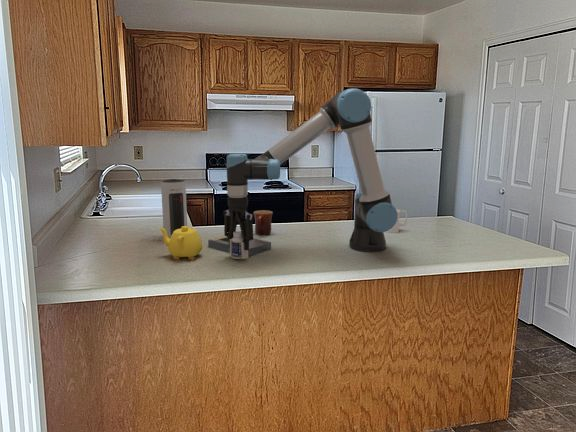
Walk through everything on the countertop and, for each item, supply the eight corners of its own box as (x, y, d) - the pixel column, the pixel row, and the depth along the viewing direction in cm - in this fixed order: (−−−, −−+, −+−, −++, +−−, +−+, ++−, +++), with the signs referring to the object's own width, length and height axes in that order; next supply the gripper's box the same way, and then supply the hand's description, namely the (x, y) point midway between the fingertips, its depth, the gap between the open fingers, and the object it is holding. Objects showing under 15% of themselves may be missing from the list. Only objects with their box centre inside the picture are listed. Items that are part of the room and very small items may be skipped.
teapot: (189, 249, 196) (188, 220, 194) (210, 256, 186) (210, 226, 184) (158, 255, 187) (157, 225, 184) (179, 264, 177) (178, 232, 174)
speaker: (162, 242, 207) (160, 181, 201) (163, 236, 217) (161, 178, 211) (188, 241, 209) (186, 180, 203) (187, 235, 219) (186, 177, 213)
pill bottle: (240, 260, 180) (239, 234, 178) (229, 258, 183) (228, 232, 181) (249, 256, 185) (248, 231, 183) (237, 254, 188) (237, 230, 186)
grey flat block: (271, 249, 197) (271, 242, 197) (247, 256, 186) (247, 249, 186) (232, 240, 211) (232, 233, 210) (208, 247, 200) (208, 239, 199)
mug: (256, 231, 228) (256, 209, 226) (274, 232, 226) (274, 210, 224) (249, 237, 216) (249, 215, 214) (268, 238, 214) (268, 216, 212)
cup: (407, 233, 227) (409, 212, 225) (381, 232, 228) (382, 211, 226) (405, 229, 235) (406, 209, 233) (380, 228, 236) (381, 208, 234)
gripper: (263, 197, 176) (263, 258, 181) (227, 192, 188) (229, 250, 192) (249, 200, 171) (250, 263, 175) (213, 194, 182) (215, 254, 187)
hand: (239, 256), depth 184 cm, fingers closed on pill bottle, 5 cm apart
